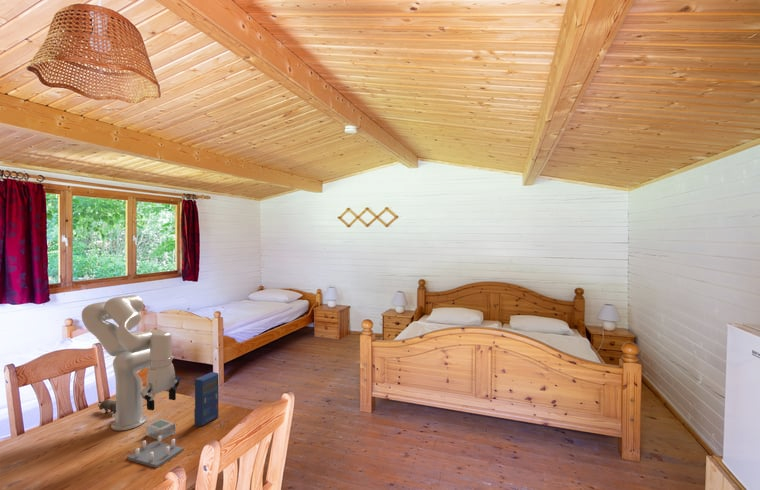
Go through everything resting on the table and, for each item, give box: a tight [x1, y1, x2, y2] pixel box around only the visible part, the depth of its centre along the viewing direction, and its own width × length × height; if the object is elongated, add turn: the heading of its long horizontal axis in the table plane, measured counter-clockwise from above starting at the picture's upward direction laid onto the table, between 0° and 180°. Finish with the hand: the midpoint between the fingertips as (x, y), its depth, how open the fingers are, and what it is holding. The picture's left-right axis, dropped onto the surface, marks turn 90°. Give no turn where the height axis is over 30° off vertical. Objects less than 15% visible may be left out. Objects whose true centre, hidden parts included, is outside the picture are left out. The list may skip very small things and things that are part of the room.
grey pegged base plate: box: [126, 436, 185, 469], centre depth 131 cm, size 15×11×4 cm
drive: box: [146, 418, 176, 442], centre depth 145 cm, size 9×6×5 cm, turn 66°
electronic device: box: [193, 371, 219, 427], centre depth 156 cm, size 10×5×20 cm, turn 159°
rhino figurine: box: [97, 398, 116, 416], centre depth 164 cm, size 4×14×6 cm, turn 73°
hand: (161, 404), depth 145 cm, fingers open, 9 cm apart
